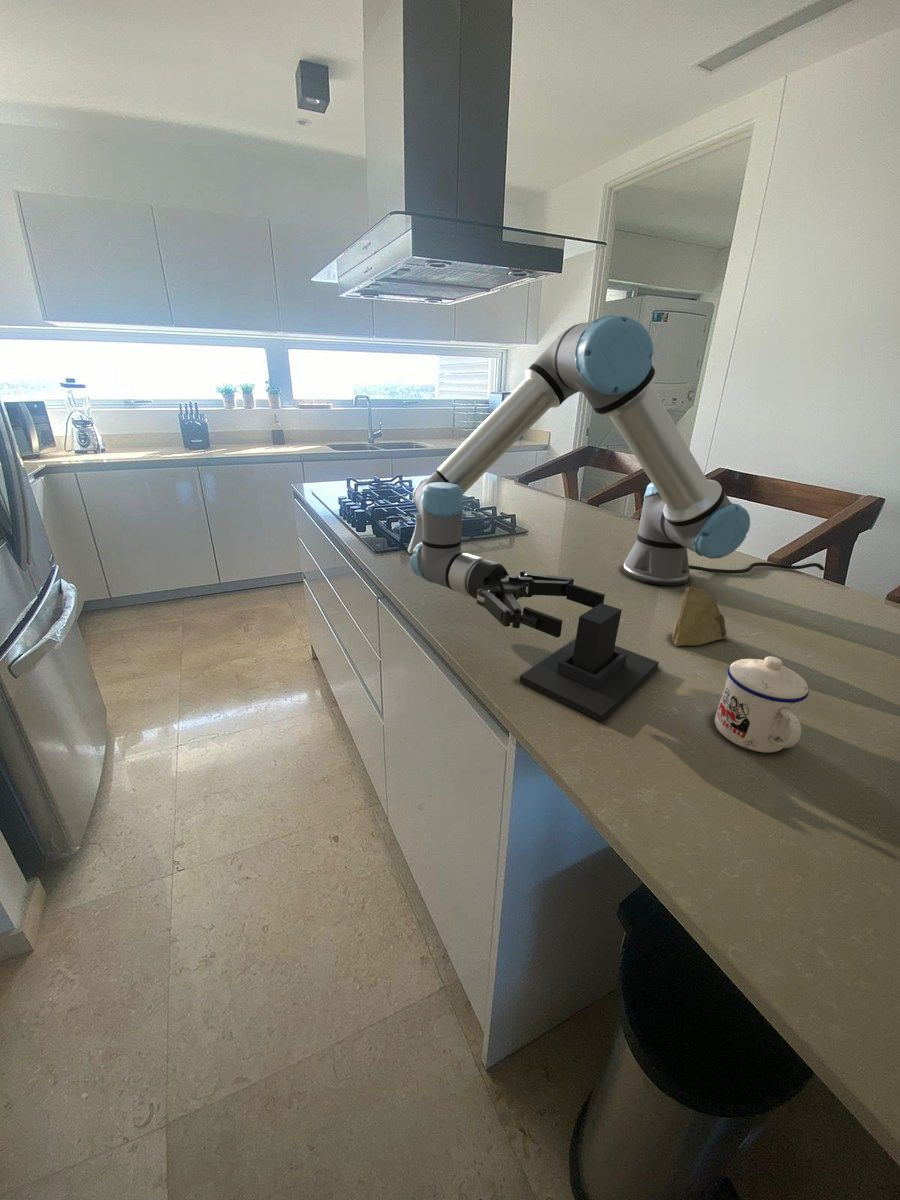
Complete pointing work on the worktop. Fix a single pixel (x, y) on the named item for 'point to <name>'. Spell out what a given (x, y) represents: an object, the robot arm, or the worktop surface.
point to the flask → (416, 534)
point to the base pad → (589, 680)
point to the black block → (596, 638)
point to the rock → (698, 619)
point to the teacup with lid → (761, 705)
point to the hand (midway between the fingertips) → (582, 615)
